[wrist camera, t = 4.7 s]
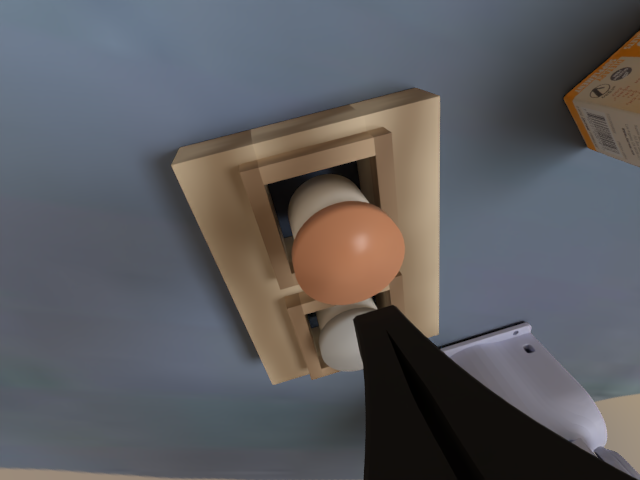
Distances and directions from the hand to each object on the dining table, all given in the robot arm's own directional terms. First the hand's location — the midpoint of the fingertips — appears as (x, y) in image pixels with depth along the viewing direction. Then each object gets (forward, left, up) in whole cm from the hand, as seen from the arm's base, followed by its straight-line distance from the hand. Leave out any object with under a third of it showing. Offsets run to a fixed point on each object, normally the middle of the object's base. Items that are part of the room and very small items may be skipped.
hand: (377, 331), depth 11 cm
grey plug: (0, +7, -10) cm, 12 cm away
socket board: (0, +3, -10) cm, 11 cm away
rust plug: (0, -1, -7) cm, 7 cm away
